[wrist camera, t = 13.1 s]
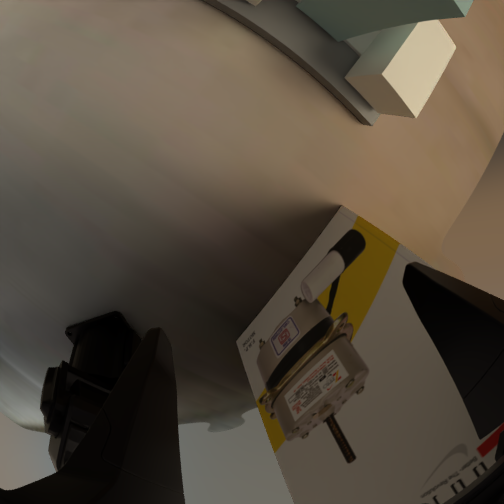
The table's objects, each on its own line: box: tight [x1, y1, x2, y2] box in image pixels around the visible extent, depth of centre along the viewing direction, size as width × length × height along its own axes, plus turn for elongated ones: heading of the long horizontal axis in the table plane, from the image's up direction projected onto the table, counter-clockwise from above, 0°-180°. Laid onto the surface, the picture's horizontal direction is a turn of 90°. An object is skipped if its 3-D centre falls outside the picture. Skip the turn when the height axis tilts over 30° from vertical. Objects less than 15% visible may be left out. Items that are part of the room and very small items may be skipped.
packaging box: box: [236, 206, 504, 504], centre depth 18 cm, size 16×16×25 cm
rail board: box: [203, 0, 456, 126], centre depth 12 cm, size 17×11×6 cm, turn 54°
